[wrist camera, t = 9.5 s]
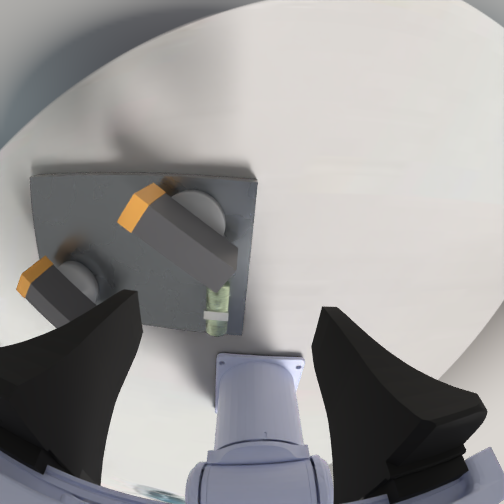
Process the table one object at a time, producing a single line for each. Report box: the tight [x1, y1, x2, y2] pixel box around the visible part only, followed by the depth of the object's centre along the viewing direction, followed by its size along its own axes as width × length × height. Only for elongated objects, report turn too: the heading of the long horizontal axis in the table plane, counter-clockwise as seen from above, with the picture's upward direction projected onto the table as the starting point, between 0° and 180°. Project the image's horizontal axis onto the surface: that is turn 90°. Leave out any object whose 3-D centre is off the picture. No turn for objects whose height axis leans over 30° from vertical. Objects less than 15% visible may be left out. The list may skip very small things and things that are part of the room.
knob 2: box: [117, 183, 238, 293], centre depth 17 cm, size 7×4×4 cm, turn 50°
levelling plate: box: [30, 172, 258, 336], centre depth 19 cm, size 12×18×3 cm, turn 84°
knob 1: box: [16, 256, 99, 328], centre depth 19 cm, size 7×4×4 cm, turn 45°
